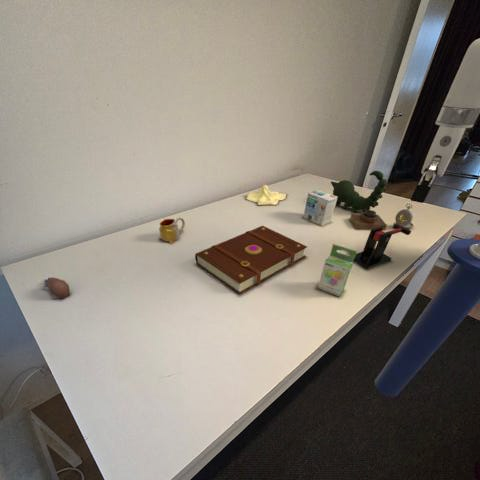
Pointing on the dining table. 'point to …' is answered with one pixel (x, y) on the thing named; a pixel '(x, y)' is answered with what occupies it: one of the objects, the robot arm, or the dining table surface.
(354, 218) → the button block
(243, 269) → the book
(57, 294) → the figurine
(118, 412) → the dining table surface
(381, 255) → the black lever stand
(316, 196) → the light bulb box
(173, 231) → the mug
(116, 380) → the dining table surface
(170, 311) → the dining table surface
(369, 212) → the button
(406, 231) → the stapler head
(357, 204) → the toy figurine
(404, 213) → the pocket watch
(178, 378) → the dining table surface
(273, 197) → the cloth
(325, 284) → the ink box
